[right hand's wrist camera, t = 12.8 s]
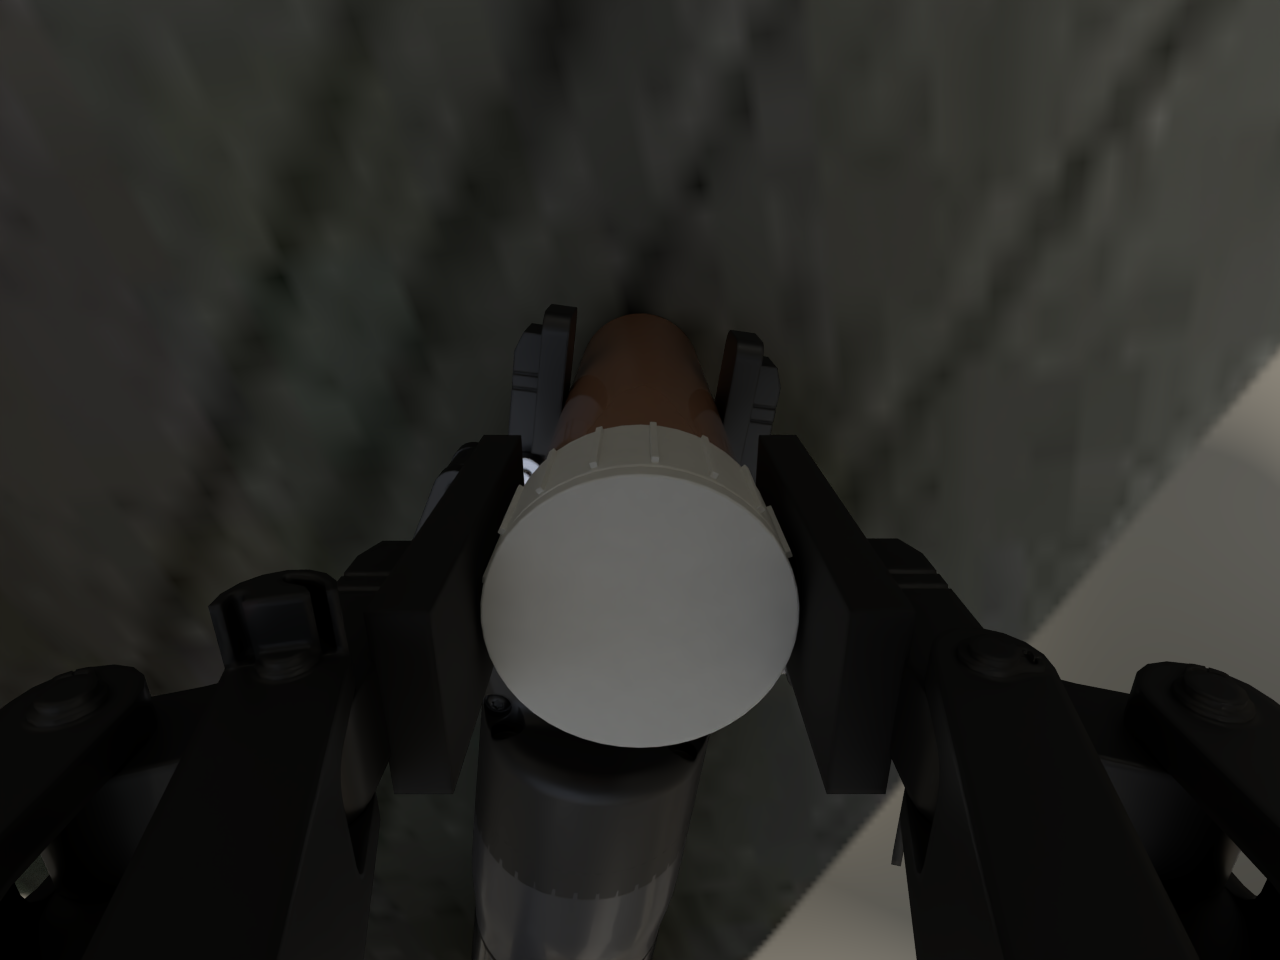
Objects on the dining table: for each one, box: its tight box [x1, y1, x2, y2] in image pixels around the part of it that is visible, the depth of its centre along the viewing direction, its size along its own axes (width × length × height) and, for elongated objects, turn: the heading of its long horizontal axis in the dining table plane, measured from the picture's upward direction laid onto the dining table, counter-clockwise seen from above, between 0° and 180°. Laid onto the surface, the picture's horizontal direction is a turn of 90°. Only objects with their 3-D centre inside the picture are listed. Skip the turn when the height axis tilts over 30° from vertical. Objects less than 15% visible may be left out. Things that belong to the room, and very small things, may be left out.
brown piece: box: [542, 313, 737, 463], centre depth 18 cm, size 4×4×16 cm
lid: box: [480, 422, 800, 748], centre depth 11 cm, size 5×5×2 cm
